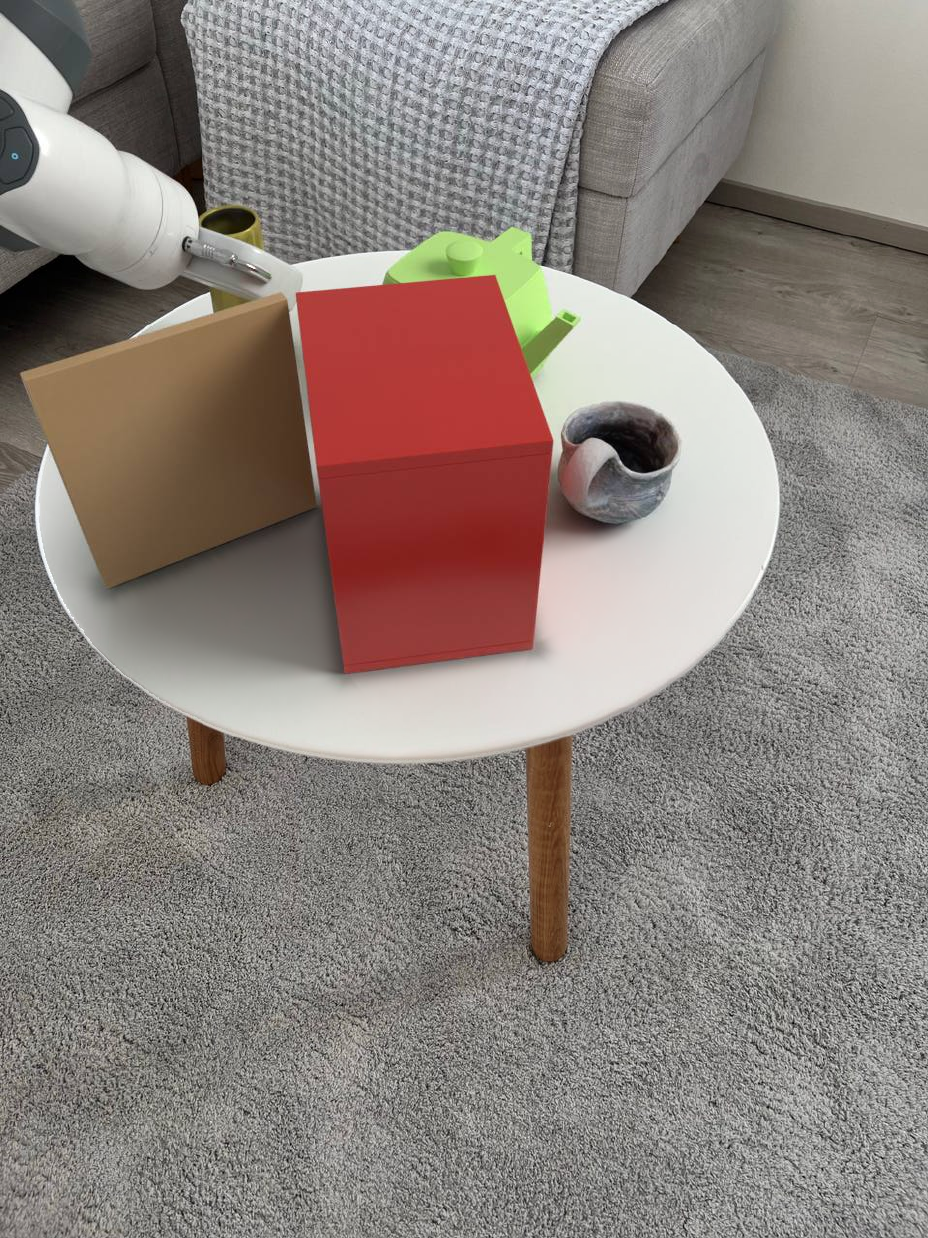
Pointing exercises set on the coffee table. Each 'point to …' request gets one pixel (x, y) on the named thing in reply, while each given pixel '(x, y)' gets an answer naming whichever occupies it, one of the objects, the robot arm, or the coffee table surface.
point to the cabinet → (426, 469)
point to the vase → (235, 225)
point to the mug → (617, 460)
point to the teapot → (515, 278)
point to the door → (179, 436)
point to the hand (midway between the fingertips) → (237, 278)
